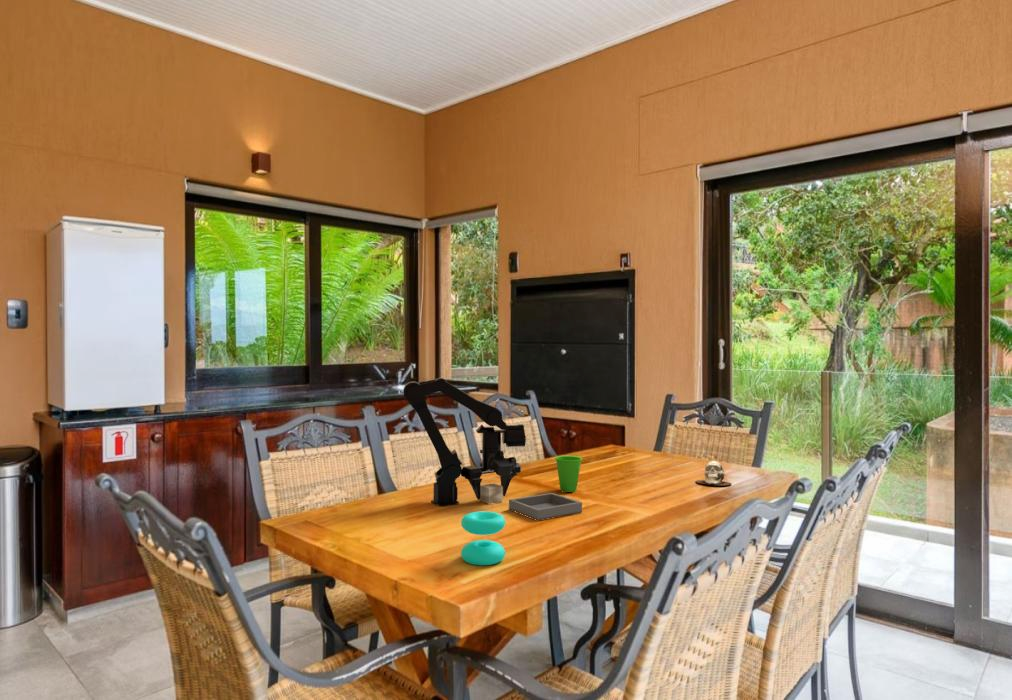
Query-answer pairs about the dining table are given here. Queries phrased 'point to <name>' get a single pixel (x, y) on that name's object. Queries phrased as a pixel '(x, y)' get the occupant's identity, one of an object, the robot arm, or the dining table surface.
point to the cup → (568, 472)
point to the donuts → (483, 549)
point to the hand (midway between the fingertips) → (491, 497)
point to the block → (491, 493)
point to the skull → (714, 474)
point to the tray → (545, 506)
